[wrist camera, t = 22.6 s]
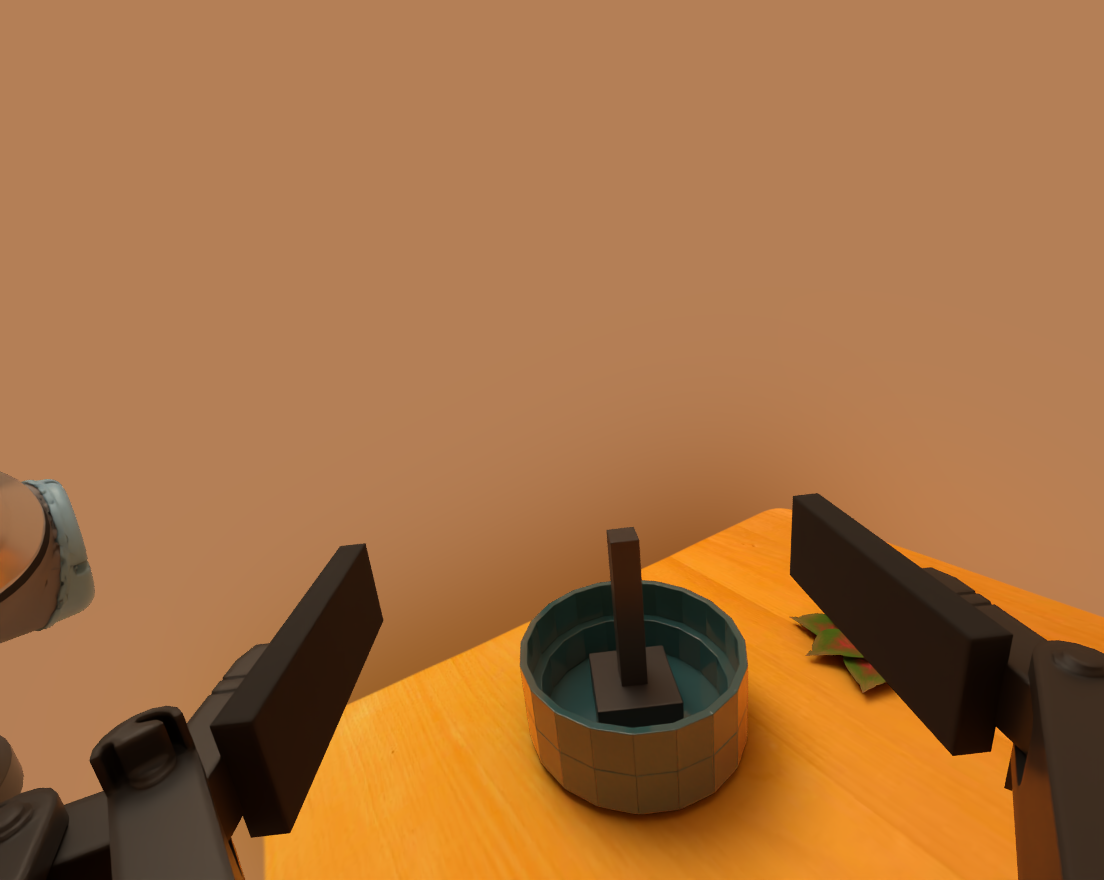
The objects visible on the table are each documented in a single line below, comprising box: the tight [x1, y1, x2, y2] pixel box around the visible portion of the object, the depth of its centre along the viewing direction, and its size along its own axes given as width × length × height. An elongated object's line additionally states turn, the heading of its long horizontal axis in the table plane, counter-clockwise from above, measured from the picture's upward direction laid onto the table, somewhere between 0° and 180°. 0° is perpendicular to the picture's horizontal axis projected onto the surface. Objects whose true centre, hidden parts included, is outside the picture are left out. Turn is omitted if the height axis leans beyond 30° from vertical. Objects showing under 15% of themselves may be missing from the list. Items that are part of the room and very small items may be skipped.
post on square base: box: [589, 527, 684, 728], centre depth 35 cm, size 6×6×14 cm
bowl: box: [520, 580, 748, 814], centre depth 36 cm, size 15×15×6 cm
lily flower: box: [790, 613, 886, 693], centre depth 40 cm, size 12×12×5 cm
